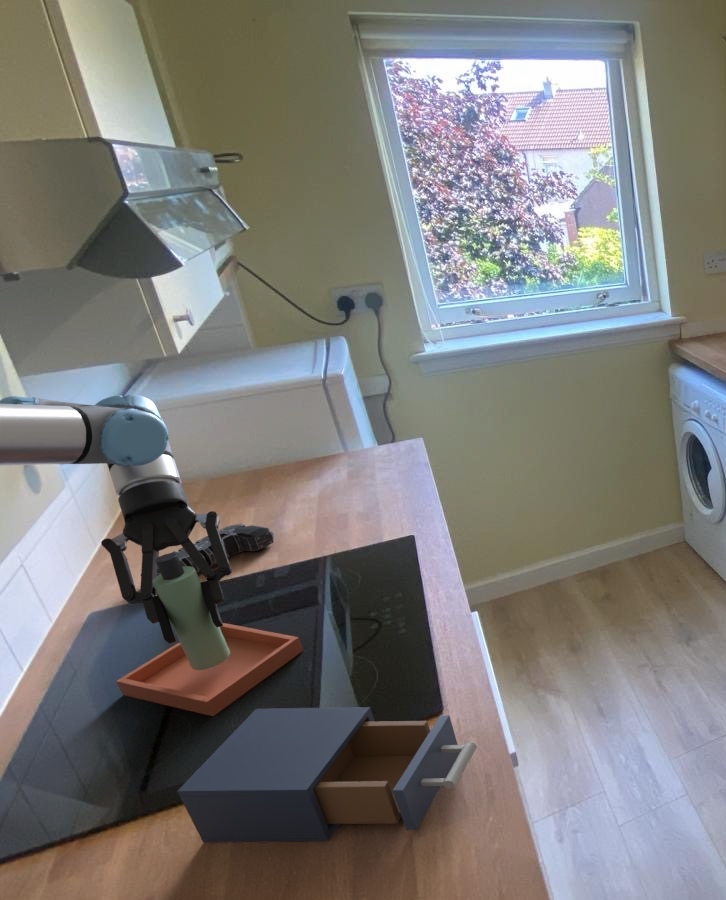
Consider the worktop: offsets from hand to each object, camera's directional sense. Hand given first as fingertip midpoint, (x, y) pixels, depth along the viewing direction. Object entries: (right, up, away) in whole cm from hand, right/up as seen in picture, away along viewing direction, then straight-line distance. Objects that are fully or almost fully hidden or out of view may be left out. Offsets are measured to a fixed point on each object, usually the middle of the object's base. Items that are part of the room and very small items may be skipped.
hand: (194, 631), depth 105 cm
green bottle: (-2, -6, +6) cm, 8 cm away
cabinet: (+26, -16, -15) cm, 34 cm away
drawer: (+38, -15, -16) cm, 44 cm away
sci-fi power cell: (-26, +4, +36) cm, 44 cm away
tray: (-2, -8, +7) cm, 10 cm away
